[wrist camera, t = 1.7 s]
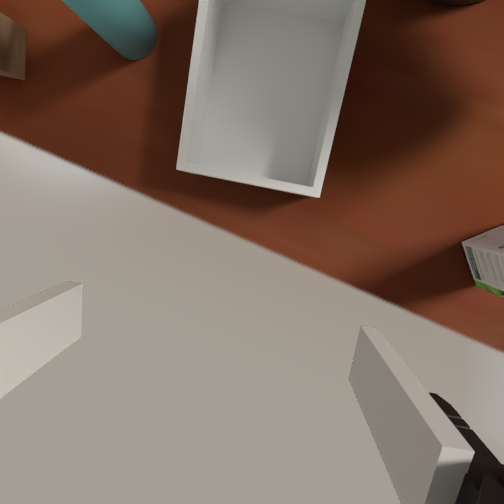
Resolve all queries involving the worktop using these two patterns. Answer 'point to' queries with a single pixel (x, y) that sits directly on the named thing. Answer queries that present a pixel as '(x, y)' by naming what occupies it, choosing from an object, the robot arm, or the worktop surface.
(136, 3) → the teal cylinder
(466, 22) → the worktop surface
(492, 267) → the syrup box
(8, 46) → the walnut cube
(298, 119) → the grey tote
